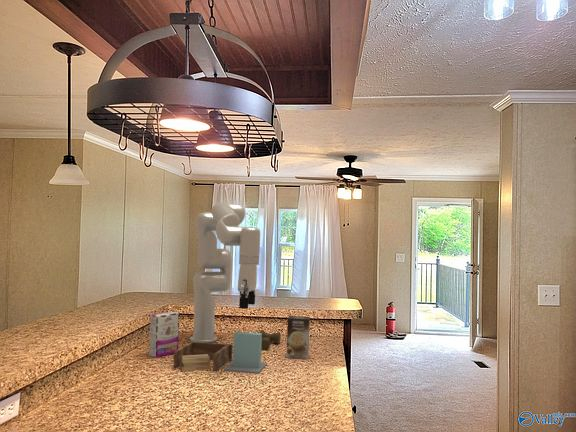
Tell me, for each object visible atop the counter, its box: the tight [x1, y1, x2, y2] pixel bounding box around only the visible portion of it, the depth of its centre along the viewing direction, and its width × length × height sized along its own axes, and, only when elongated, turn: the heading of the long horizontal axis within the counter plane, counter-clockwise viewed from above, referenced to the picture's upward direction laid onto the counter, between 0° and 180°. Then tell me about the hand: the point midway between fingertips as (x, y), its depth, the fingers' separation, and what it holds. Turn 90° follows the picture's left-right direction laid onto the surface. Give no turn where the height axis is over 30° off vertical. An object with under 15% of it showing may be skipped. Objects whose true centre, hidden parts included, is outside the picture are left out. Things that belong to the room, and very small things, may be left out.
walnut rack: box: [173, 340, 233, 372], centre depth 173 cm, size 16×18×6 cm
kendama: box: [259, 329, 282, 351], centre depth 207 cm, size 6×10×20 cm
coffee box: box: [285, 315, 311, 360], centre depth 188 cm, size 9×6×16 cm
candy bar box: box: [148, 311, 180, 359], centre depth 186 cm, size 11×5×16 cm, turn 143°
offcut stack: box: [180, 354, 211, 372], centre depth 167 cm, size 5×10×4 cm, turn 108°
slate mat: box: [223, 361, 268, 375], centre depth 170 cm, size 12×13×1 cm
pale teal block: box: [232, 331, 262, 368], centre depth 170 cm, size 3×10×12 cm, turn 80°
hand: (247, 306), depth 171 cm, fingers open, 9 cm apart
